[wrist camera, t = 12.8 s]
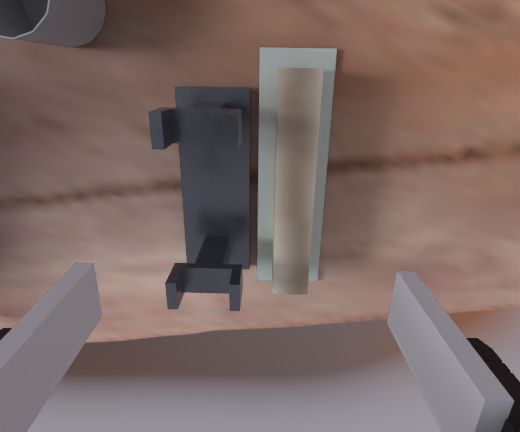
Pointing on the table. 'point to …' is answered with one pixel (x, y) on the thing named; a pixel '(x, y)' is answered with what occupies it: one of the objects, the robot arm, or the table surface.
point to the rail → (295, 176)
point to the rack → (210, 187)
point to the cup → (52, 21)
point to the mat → (267, 140)
